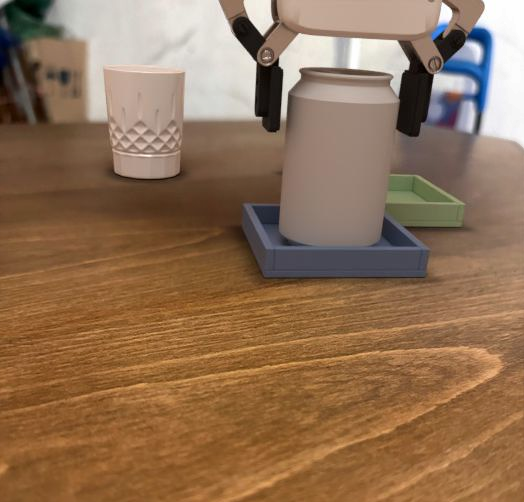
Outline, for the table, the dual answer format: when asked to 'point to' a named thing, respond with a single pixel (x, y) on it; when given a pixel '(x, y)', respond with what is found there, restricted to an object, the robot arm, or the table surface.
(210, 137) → the table surface
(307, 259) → the tray blue
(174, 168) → the white cup
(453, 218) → the tray green
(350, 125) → the can
